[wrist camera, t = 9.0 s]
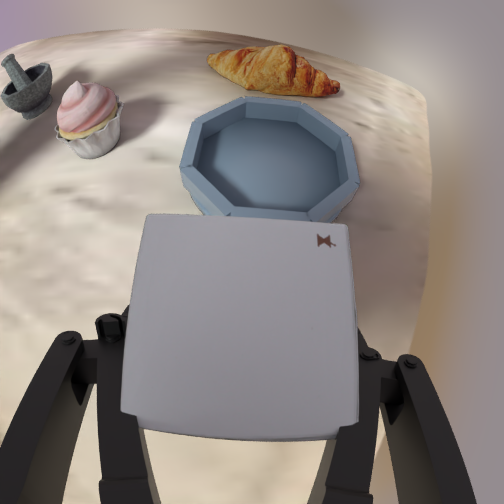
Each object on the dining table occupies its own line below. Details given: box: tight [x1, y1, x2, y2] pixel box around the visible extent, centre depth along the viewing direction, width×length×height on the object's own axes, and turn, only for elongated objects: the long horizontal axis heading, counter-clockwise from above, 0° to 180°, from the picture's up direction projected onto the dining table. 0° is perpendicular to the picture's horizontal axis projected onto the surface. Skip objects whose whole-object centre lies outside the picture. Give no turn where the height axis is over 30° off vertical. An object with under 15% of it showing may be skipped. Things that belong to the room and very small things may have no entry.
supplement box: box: [121, 214, 359, 442], centre depth 14 cm, size 7×7×13 cm
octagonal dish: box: [179, 96, 360, 223], centre depth 31 cm, size 18×18×4 cm
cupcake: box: [55, 81, 124, 159], centre depth 29 cm, size 9×9×10 cm
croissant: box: [207, 44, 340, 97], centre depth 38 cm, size 21×10×8 cm, turn 69°
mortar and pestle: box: [1, 54, 52, 120], centre depth 32 cm, size 11×9×12 cm
